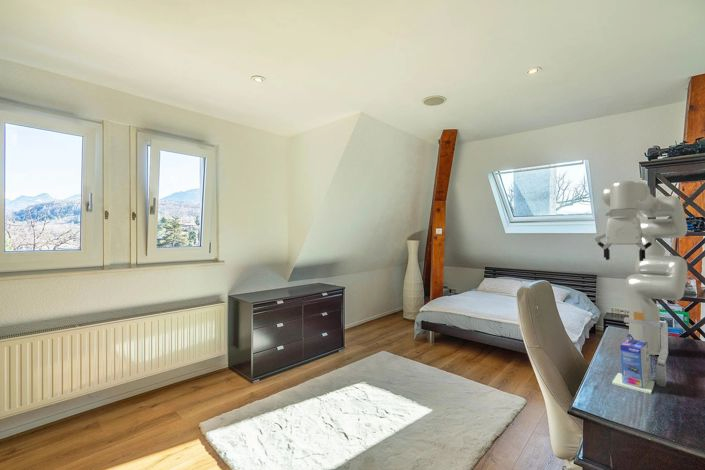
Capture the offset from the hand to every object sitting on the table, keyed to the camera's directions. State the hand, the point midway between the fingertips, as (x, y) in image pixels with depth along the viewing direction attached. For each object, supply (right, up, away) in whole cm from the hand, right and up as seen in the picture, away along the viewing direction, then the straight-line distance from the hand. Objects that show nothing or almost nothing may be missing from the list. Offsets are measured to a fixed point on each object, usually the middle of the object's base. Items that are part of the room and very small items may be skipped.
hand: (624, 260), depth 119 cm
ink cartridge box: (-11, -37, -18) cm, 43 cm away
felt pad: (-12, -38, -18) cm, 44 cm away
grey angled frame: (-1, -32, -9) cm, 33 cm away
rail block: (-3, -38, -18) cm, 42 cm away
